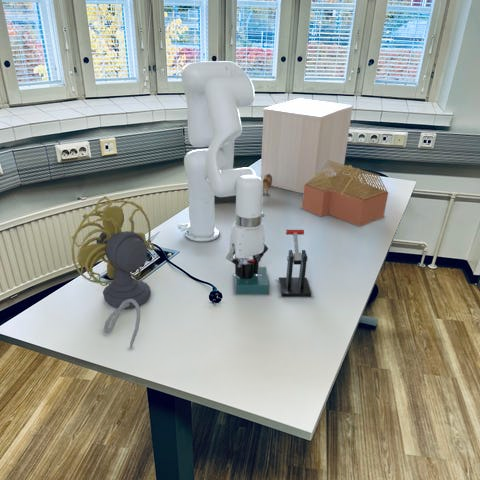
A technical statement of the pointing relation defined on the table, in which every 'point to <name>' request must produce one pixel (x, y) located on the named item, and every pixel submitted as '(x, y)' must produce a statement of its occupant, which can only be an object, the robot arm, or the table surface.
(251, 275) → the knob
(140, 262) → the electric fan
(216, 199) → the leaning round-cornered charcoal block
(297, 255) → the toaster lever
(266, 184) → the lion figurine
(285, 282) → the black upright frame
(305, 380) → the table surface
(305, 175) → the cabinet
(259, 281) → the dial panel
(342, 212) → the house
